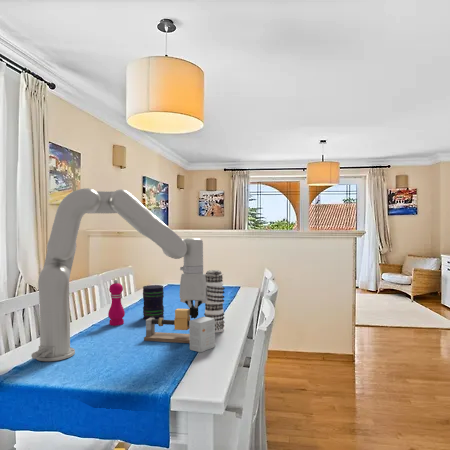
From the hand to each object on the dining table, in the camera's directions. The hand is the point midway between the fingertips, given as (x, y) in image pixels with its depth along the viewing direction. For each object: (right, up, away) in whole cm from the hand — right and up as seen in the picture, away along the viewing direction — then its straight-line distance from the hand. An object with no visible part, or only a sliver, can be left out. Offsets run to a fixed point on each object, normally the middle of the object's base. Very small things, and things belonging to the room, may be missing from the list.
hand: (194, 317), depth 155 cm
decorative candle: (+7, -9, +15) cm, 19 cm away
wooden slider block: (-5, -5, +1) cm, 7 cm away
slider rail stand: (-8, -9, +2) cm, 12 cm away
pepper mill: (-37, -9, +27) cm, 47 cm away
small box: (+4, -9, -10) cm, 14 cm away
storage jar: (-22, -9, +38) cm, 45 cm away
